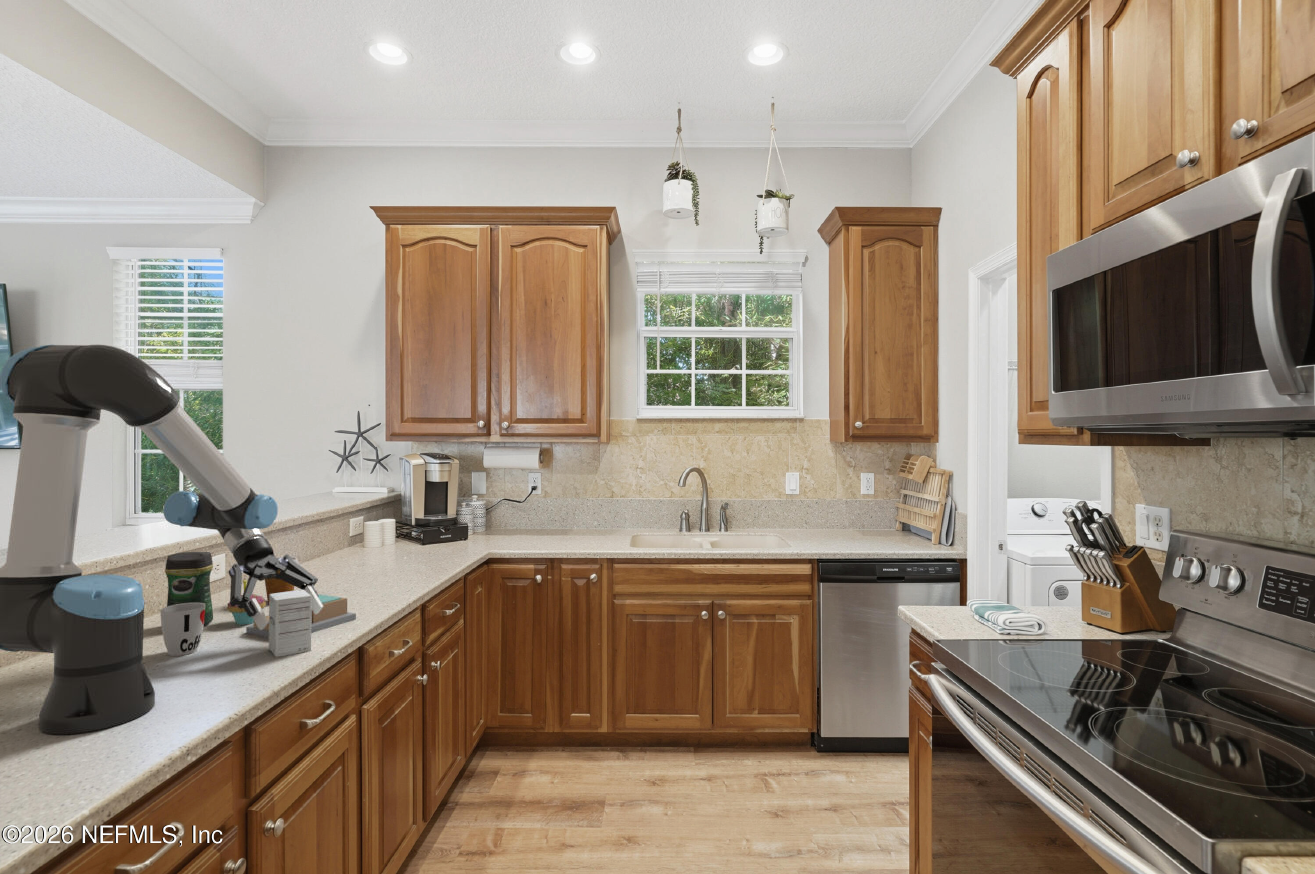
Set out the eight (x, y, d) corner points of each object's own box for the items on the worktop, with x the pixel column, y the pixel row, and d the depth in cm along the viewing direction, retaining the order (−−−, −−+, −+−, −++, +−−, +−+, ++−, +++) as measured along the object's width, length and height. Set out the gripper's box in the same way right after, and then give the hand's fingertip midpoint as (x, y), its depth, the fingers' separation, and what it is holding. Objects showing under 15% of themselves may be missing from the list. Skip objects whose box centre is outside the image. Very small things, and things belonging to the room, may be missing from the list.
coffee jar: (217, 620, 170) (218, 548, 170) (204, 628, 162) (204, 554, 162) (174, 622, 167) (175, 550, 167) (159, 631, 160) (159, 555, 160)
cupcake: (262, 625, 166) (262, 578, 165) (222, 628, 162) (223, 580, 162) (268, 616, 173) (268, 571, 173) (231, 619, 170) (231, 573, 170)
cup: (181, 659, 140) (181, 613, 140) (150, 656, 142) (150, 610, 142) (214, 647, 148) (214, 603, 148) (184, 645, 149) (184, 601, 149)
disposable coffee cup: (266, 598, 192) (266, 557, 192) (302, 596, 195) (302, 556, 195) (256, 606, 183) (257, 563, 183) (294, 604, 186) (295, 562, 186)
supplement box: (267, 649, 147) (268, 593, 147) (304, 642, 152) (304, 588, 152) (274, 657, 141) (274, 599, 141) (311, 650, 146) (312, 594, 146)
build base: (285, 640, 153) (285, 616, 153) (246, 632, 159) (246, 609, 159) (355, 619, 171) (356, 597, 171) (318, 612, 177) (318, 591, 177)
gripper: (290, 548, 166) (331, 614, 160) (186, 566, 143) (230, 644, 137) (304, 529, 164) (347, 595, 158) (201, 544, 141) (247, 622, 135)
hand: (293, 618), depth 147 cm, fingers open, 13 cm apart
